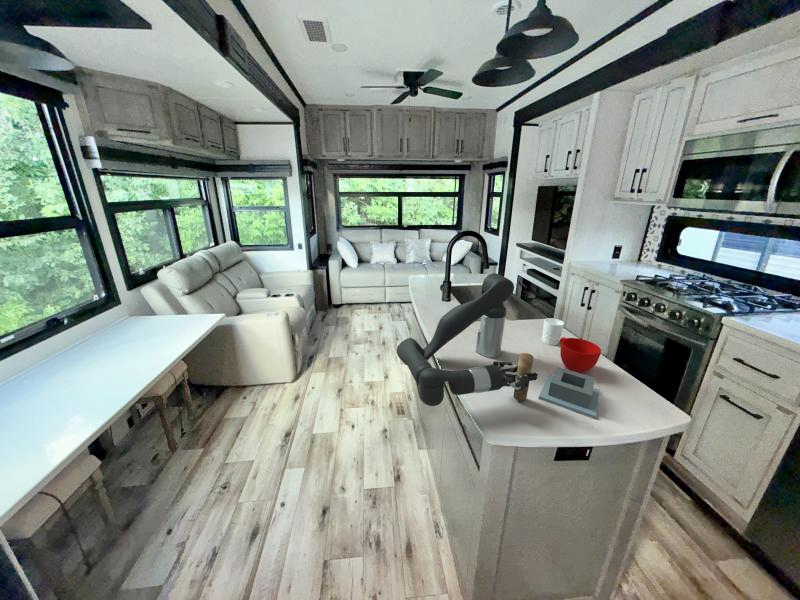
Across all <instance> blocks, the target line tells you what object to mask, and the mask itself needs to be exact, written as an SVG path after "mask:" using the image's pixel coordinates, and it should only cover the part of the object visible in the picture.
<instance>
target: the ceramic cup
mask: <svg viewBox="0 0 800 600" xmlns="http://www.w3.org/2000/svg"><path fill="white" fill-rule="evenodd" d="M559 345H560V359H561V361H562V364H563V365H564V366H565V369H567V370H570V371H574V372H577V373H580V374H585V373H587V372H589V371H591V370H592V369H593V368H594V367H595V366H596V365H597V363H598V361H599V359H600V356H601V354H602V348H601V347H600V346H599V345H598V344H596V343H594V342H592V341H589V340H586V339H582V338H577V337H560V339H559Z"/></svg>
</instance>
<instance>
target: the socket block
mask: <svg viewBox="0 0 800 600" xmlns="http://www.w3.org/2000/svg"><path fill="white" fill-rule="evenodd" d="M595 381H596V377H594V376H590V375H587V374H585V373H583V374H580V373H577V372H574V371H570V370H568V369H567V368H563V367H559V366H557V367H556V368H555V371H554V373H553V374H550V373H548V375H547V378H546V379H545V382H544V384H543V387H542V389H541V391H540V393H539V395H538V399H539V400H542V401H544V402H547V403H550V404H552V405H555V406H558V407H561V408H564V409H566V410H570V411H571V412H574V413H577V414H581V415H583V416H586V417H588V418H592V419H594V420H596V418H597V412H598V406H599V400H600V393H601V389H598V388H595Z"/></svg>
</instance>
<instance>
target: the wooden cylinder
mask: <svg viewBox="0 0 800 600" xmlns="http://www.w3.org/2000/svg"><path fill="white" fill-rule="evenodd" d="M533 362H534V356H533V355H532V354H531V353H528V352H527V353H526V352H521V353H519V358H518V363H517V366H518V369H517V372H516V373H519V374H529V373H532V370H533V369H532V368H533V365H534V363H533ZM520 380H523V378H520ZM513 389H515V388H513ZM528 391H529V387H527V388H525V389H523V390H521V391H519V392H515V391H514V390H513V398H514V399H515V400H517V401H520V402H525V401H527V397H528V393H529V392H528Z"/></svg>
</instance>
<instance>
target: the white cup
mask: <svg viewBox="0 0 800 600" xmlns="http://www.w3.org/2000/svg"><path fill="white" fill-rule="evenodd" d="M542 326H543V327H542V336H541V342H543V344H546V345H547V346H548V345H549V346H557V345H558V344H560V339H561V337H562V334H563V329H564V326H565V322H564V321H562V320H561V319H558V318H553V317H551V318H550V317H547V318H544V320H543V325H542Z"/></svg>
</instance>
